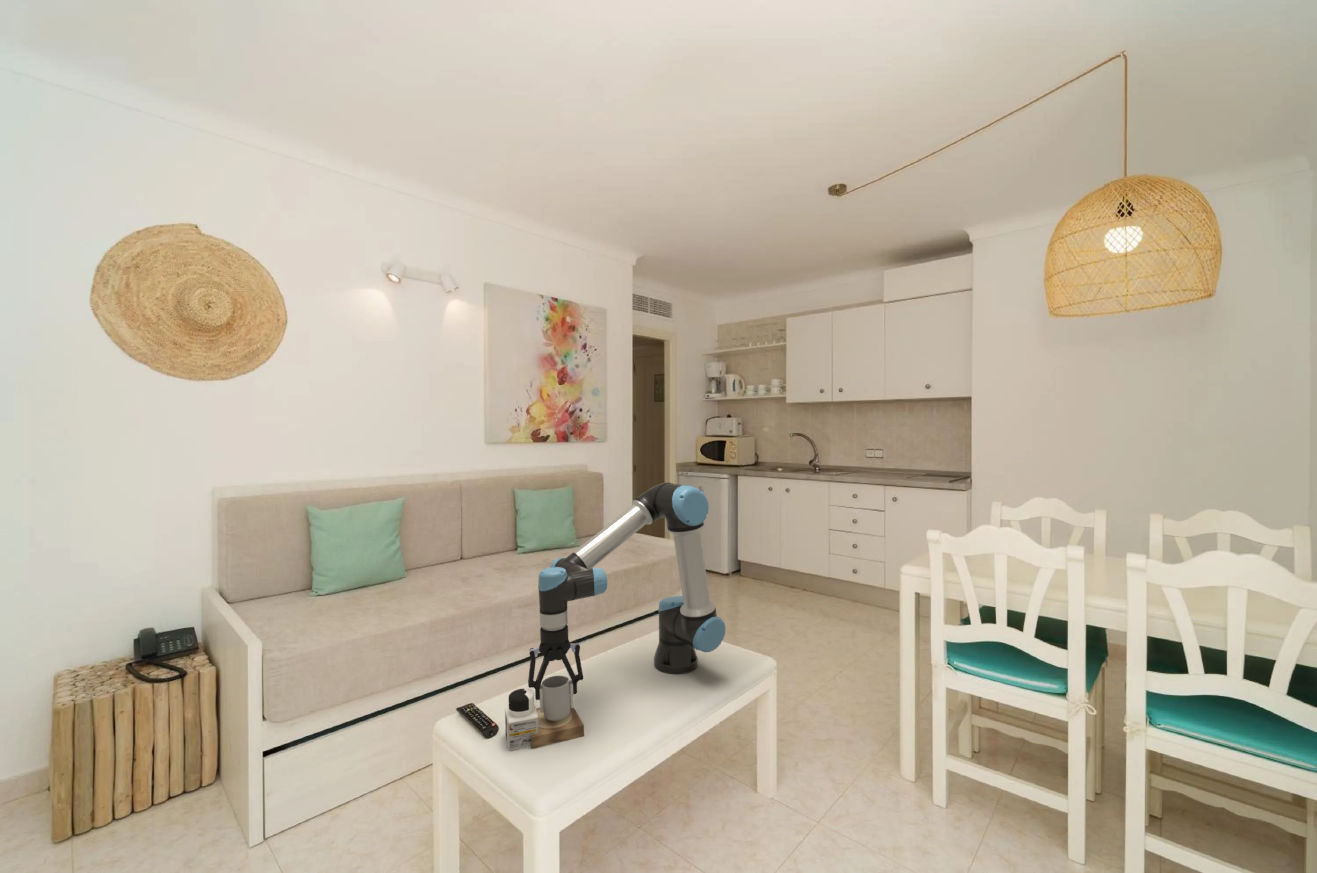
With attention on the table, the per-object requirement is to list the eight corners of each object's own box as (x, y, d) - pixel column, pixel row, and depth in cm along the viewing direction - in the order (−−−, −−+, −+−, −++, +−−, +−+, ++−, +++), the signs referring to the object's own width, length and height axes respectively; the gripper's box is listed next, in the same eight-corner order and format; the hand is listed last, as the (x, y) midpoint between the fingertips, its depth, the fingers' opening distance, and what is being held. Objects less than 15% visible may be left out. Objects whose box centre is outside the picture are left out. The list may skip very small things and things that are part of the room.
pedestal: (570, 711, 162) (570, 699, 162) (584, 735, 149) (583, 723, 149) (521, 722, 156) (521, 710, 156) (531, 748, 143) (531, 736, 143)
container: (508, 752, 142) (507, 701, 142) (505, 736, 150) (504, 688, 149) (538, 745, 145) (538, 696, 145) (534, 730, 152) (533, 683, 152)
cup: (538, 718, 150) (536, 686, 149) (558, 700, 159) (557, 669, 159) (561, 723, 147) (559, 690, 147) (580, 704, 156) (579, 673, 156)
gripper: (589, 616, 158) (591, 695, 159) (515, 625, 153) (518, 707, 154) (593, 626, 151) (595, 708, 151) (515, 635, 146) (518, 721, 146)
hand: (556, 707), depth 153 cm, fingers closed on cup, 7 cm apart
